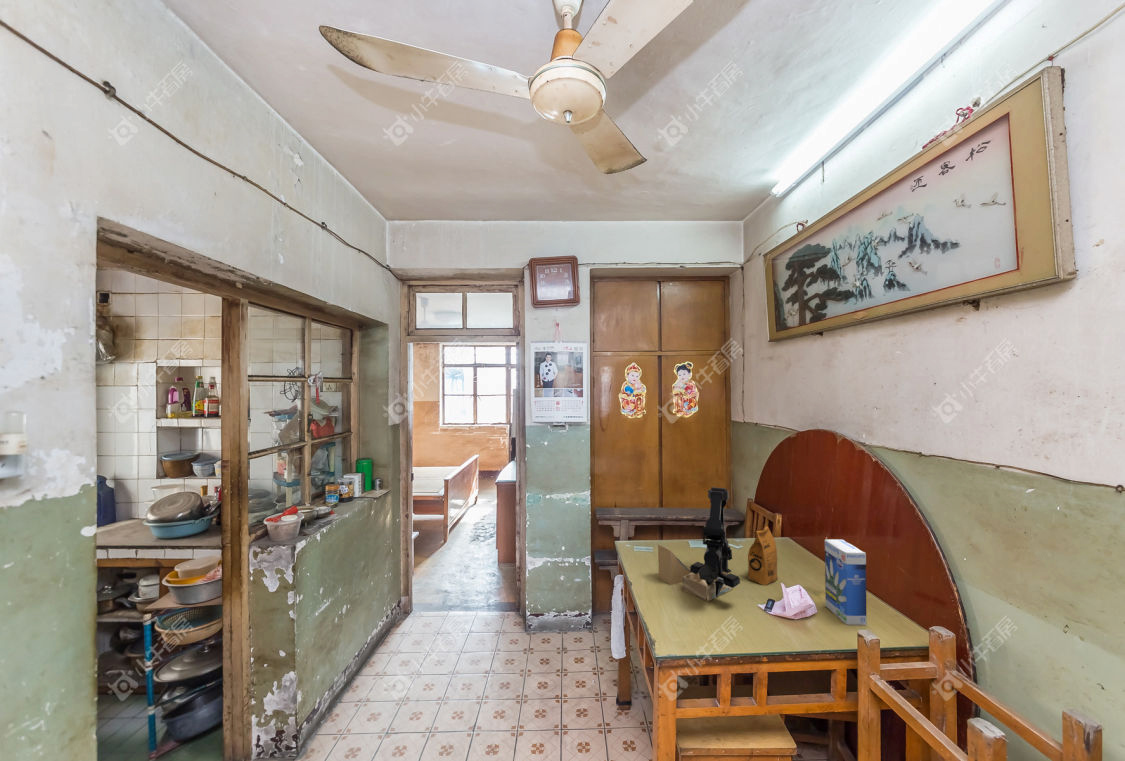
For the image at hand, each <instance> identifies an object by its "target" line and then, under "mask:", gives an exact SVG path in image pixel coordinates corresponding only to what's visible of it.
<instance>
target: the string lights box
mask: <svg viewBox="0 0 1125 761" xmlns="http://www.w3.org/2000/svg"><path fill="white" fill-rule="evenodd" d="M824 570H825V571H824V576H825V578H824V579H825V581H824V582H825V584H824V585H825V587H824V588H825V607H827V609H828V610H830V611H831V612H832V614H834V615H835V616H836V617H837V618H839V619H840V620H841V621H842V622H843V623H844V624H845V625H849V626H851V625H852V626H867V622H868V621H867V553H866V552H865V551H863V550H861V549H859V548H858V547H856V546H855V545H853V544H851V543H849V542H847V541H846V540H844V539H829V538H828V539H827V538H826V539H824Z"/></svg>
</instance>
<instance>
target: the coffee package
mask: <svg viewBox="0 0 1125 761" xmlns="http://www.w3.org/2000/svg"><path fill="white" fill-rule="evenodd" d="M753 534H754V535H755V536H756V537H755V539H754V542H753V543H752V545H751V546H750V547H749V549H748V553H747V561H748V562H747V563H748V564H747V566H748V567H747V568H748V569H747V570H748V571H747V572H748V573H747V576H748V579H749V580H750V581H753V582H755V583H757V584H759V585H762V586H767V585H769V584H770V583H775V582H776V580H777V579H778V551H777V544H776V541H775V540H776V539H775V538H774V536H773V534H772V532H771V530H770V528H769V526H764V527H763V529H762V530H754V532H753Z"/></svg>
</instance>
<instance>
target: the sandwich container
mask: <svg viewBox="0 0 1125 761" xmlns="http://www.w3.org/2000/svg"><path fill="white" fill-rule="evenodd" d="M657 551H658V552H657V554H658V559H657V560H658V562H657V563H658V578H659V579H660V580H662V581H663V582H665V583H667V584H668V585H671V586H672V585H676V584H680V583H681V584H682V577H683V576H686V575H688V574H690V573H692V572H690V568H688V567H687V566H686V565H685V564H684V563H683V562H682V561H681V560H680V559H679V557H678V556H676V554H674V552H673V551H671V549H669V548H668V547H665V546H663V545H661V544H658V545H657Z"/></svg>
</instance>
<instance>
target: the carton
mask: <svg viewBox="0 0 1125 761" xmlns="http://www.w3.org/2000/svg"><path fill="white" fill-rule="evenodd" d="M722 574H725V575H728V574H729V572H728V573H725V572H722ZM715 581H717V579H716V580H714V582H715ZM681 584H682V590H683V592H686V593H688V594H691V595H693V596H695V597H696V598H700V599H702V600H703V601H707V583H706V581H705V580H703V579H700V577H699V572H698V573H697V574H695V573H690V574H688V575H686V576H683V577H682V582H681Z"/></svg>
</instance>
